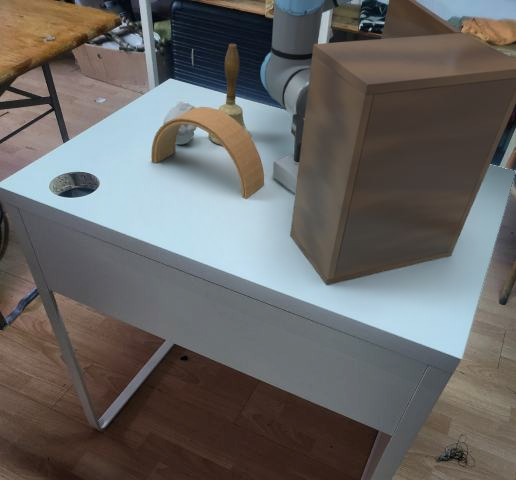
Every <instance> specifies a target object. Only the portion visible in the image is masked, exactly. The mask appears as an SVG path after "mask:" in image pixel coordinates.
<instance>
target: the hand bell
mask: <svg viewBox="0 0 516 480" xmlns="http://www.w3.org/2000/svg"><path fill="white" fill-rule="evenodd" d="M239 73H240V56H239V51H238V47H237V44H236V43H229V44H228V48H227V51H226V54H225V58H224V75H225V79H226V97H225V100H226V101H225V103H224V104H221V105H220V106H219V107H218V110H220V111H222V112H224V113H226V114H227V115H229V116H230V117H232V118H233V119H234V120H236V121H237V122H238V123H239V124H240V125H241V126H242V127H243V128H244V130H245V131H246V132H247V133H248V135H249V136H250V138H251V139H252V138H253V137H252V134H251V132H250V131H249V129H248V128H247V126H246V124H245V120H244V113H243V112H244V111H243V108H242V107H241V106H240V105H239V104H237V103H236V98H237V96H236V94H237V93H236V91H237V90H236V89H237V88H236V87H237V80H238V77H239ZM208 138H209V140H210V141H211V142H213V143H214V144H216V145H219V146H222V145H221V143H220V142H218V141H217V140H216V139H215V138H214V137H213V136H212V135H210V134H209V133H208Z"/></svg>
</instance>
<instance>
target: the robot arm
mask: <svg viewBox="0 0 516 480" xmlns="http://www.w3.org/2000/svg"><path fill="white" fill-rule="evenodd" d="M352 1H353V0H274V1H273V20H272V35H271V36H272V37H271V48H270V52H269V53H267V54H266V56H265V58H264V60H263V61H262V64H261V66H260V80H261V84H262V85H263V87H264V89H265V90H266V91H267V92H268V95H269V96H270V97H271V98H272V99H273V100H274V101H275V102H277V103H278V104H280V106H281V107H283V108H284V109H285V110H286V111H287V112H288V114H289V115H290V116H292V119H291V129H290V132H291V134H292V136H293V137H294V146H293V148H294V149H293V154H294V161H295V162H299V160H300V152H301V144H302V135H303V127H304V119H305V111H306V103H307V95H308V86H309V78H310V70H311V62H312V55H313V54H312V53H313V45H314V44H319V38H320V32H321V25H322V17H323V14H324V13H326V12H328V11H331V10H333V9H335V8H338V7H340V6H342V5H345V4H347V3H350V2H352Z"/></svg>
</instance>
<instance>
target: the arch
mask: <svg viewBox="0 0 516 480" xmlns="http://www.w3.org/2000/svg"><path fill="white" fill-rule="evenodd" d="M182 124H185V125H192V126H196V127H197V128H199V129H201V130H202V131H204V132H206V133H208V135H209V134H210V135H212V136H213V137H214V138H215V139H216V140H217V141H218V142H220V143H221V145H220V146H222V148H224V150H225V151H226V153H227V154H228V156H229V157H230V159H231V160H232V162H233V165H234V166H235V168H236V171H237V174H238V177H239V181H240V187H241V197H242V198H244V199H245V200H247V199H248V198H249V197H251V196H252V195H254V193H255V192H257V191H259V189H261V188H263V187H264V186H265V172H264V165H263V162H262V159H261V156H260V155H261V154H260V152H259V151H258V148H257V146H256V144H255V142H254V141H253V139H252V138H250V136H249V135H248V133H247V132H246V131H245V130H244V128H243V127H242V126H241V125H240V124H239V123H238V122H237V121H236V120H234V119H233V118H232V117H230V116H229V115H227V114H226V113H224V112H222V111H220V110H219V109H217V108H214V107H208V106H198V107H195V108H193V109H191V110H189V111H187V112H185V113H183V114H181V115H179V116H177V117H176V118H174V119H172V120H170V121H168V122H166V123H165V124H162V125H161V126H160V127H159V128H158V130H157V131H156V133H155V135H154V137H153V140H152V145H151V153H150V154H151V155H150V156H151V157H150V158H151V162H152V163H154V164H158V163H159V162H162V161H164V160H166V159H167V158H168V157H170V156H172V155H173V154H174V153H176V137H177V133H178V131H179V129H180V127H181V125H182Z"/></svg>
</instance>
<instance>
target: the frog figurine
mask: <svg viewBox="0 0 516 480" xmlns="http://www.w3.org/2000/svg"><path fill="white" fill-rule="evenodd" d="M193 108H196V106H194V105H192V104H190V103H188V102H185V101H178V102H177V103H176V105H175V106H173V107H172V108H170V109H169V110H168V112H167V113H166V115H165V116H164V118H163V121H162V122H163V123H162V125H164V124H165V123H166V122H168V121H170V120H172V119H174V118H176V117H177V116H179V115H181V114H183V113H185V112H187V111H189V110H191V109H193ZM197 128H198V127H196V126H192V125H185V124H182V125H181V127H180V129H179V131H178V133H177V137H176V143H175V145H185V144H188V143H189V142H190V141H191V140H192V139H193V137H194V136H195V132H196V130H197Z"/></svg>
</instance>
